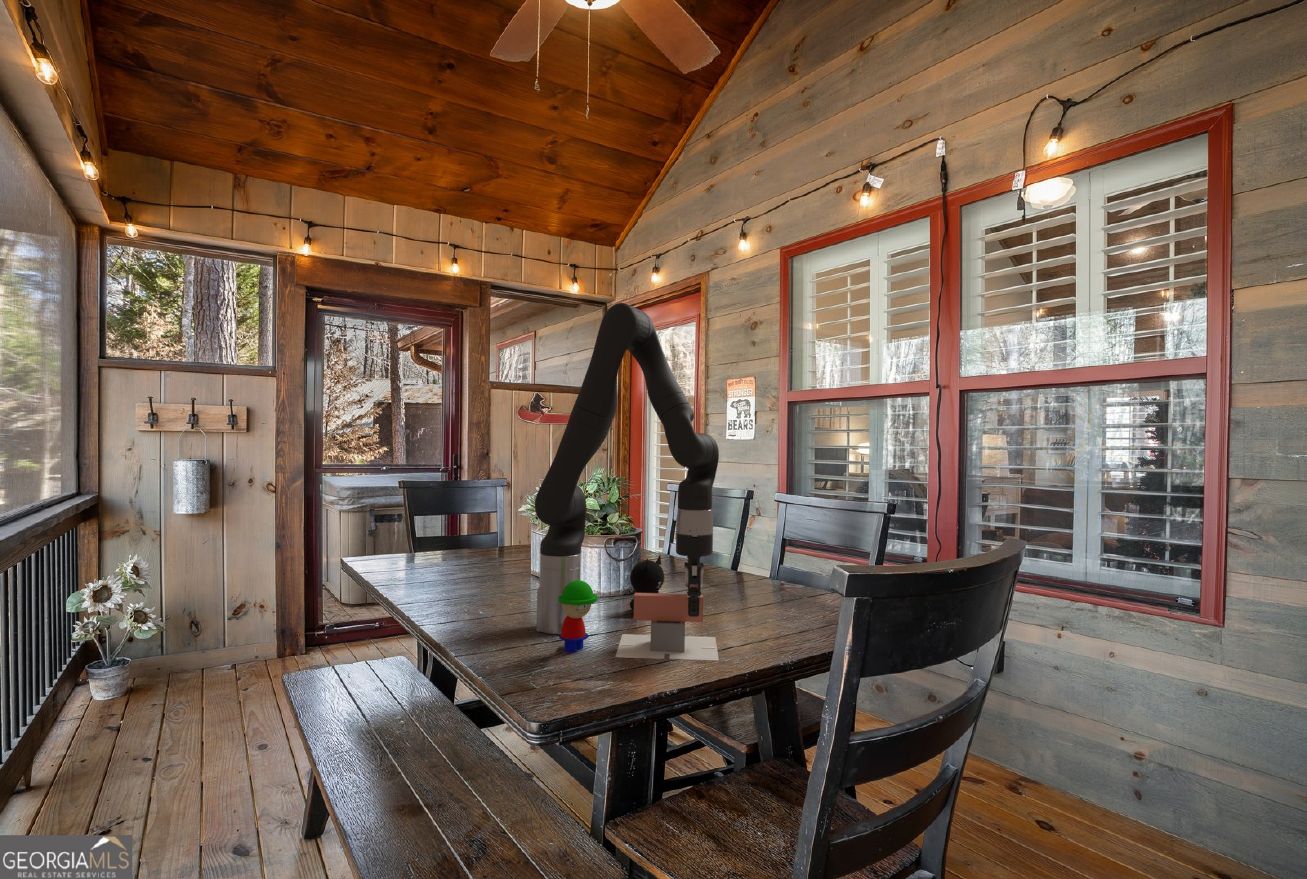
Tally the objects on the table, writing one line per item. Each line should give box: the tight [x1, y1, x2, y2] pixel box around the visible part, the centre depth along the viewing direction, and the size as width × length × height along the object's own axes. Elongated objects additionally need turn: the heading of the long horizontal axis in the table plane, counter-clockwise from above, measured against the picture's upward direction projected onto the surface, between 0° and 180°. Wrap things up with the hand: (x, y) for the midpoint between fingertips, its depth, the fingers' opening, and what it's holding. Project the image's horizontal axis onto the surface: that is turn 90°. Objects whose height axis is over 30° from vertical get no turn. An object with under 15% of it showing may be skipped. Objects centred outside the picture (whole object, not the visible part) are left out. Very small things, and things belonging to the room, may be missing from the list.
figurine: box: [629, 554, 665, 612], centre depth 165 cm, size 16×14×15 cm
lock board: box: [614, 621, 720, 662], centre depth 134 cm, size 20×15×6 cm
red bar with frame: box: [633, 592, 704, 652], centre depth 134 cm, size 14×7×10 cm, turn 87°
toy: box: [558, 580, 599, 654], centre depth 131 cm, size 8×8×15 cm
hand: (693, 610), depth 134 cm, fingers open, 8 cm apart
